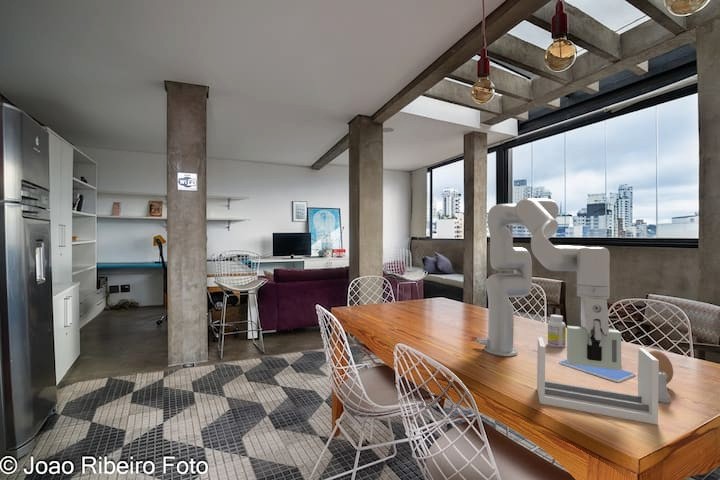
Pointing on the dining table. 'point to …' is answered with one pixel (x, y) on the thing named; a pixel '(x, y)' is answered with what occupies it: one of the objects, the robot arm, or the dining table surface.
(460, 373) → the dining table surface
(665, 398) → the rook chess piece
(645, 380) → the cabinet base
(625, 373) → the tablet computer
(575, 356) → the door panel
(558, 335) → the supplement bottle
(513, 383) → the dining table surface
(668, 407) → the dining table surface
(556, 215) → the robot arm
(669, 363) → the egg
